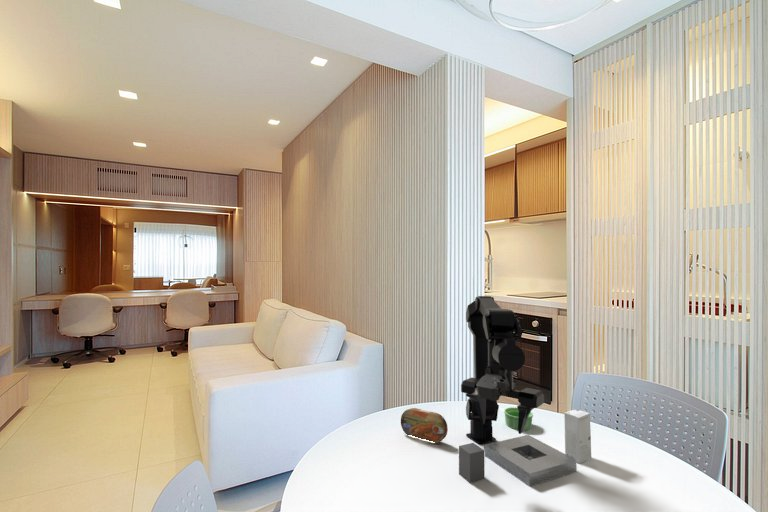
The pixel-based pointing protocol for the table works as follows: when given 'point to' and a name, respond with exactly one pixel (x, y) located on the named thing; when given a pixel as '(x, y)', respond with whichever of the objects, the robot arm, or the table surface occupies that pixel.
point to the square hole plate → (532, 471)
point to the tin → (424, 424)
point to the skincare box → (578, 435)
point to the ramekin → (516, 418)
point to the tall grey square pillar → (471, 462)
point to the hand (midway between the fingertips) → (501, 428)
